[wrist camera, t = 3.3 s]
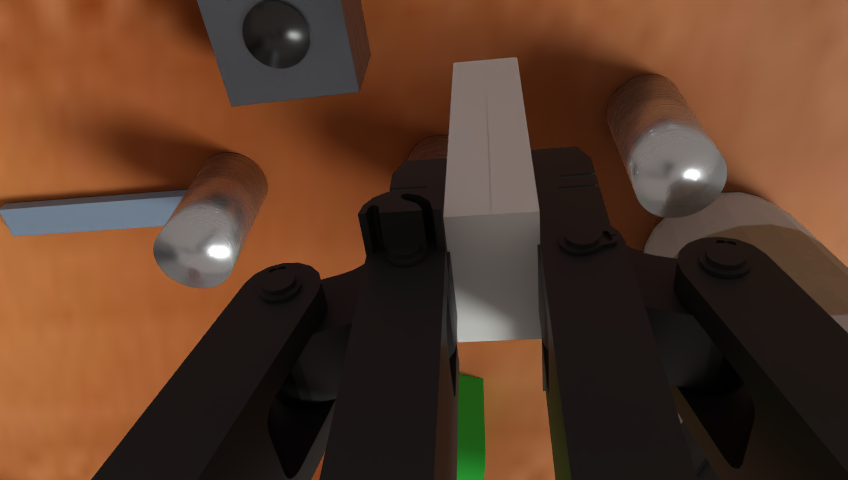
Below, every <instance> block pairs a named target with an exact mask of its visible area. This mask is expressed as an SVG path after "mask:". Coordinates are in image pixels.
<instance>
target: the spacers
mask: <svg viewBox="0 0 848 480" xmlns="http://www.w3.org/2000/svg"><path fill="white" fill-rule="evenodd" d="M606 118H607V123H608V126H609V128H610V131H611V133H612V136H613V138H614V141H615V144H616V146H617V149H618V151H619V154H620V156H621V159H622V161H623V164H624V166H625V169H626V171H627V174H628V176H629V179H630V181H631V184H632V187H633V189H634V192H635V194H636V197H637V199H638V201H639V203H640V204H641V205H642V206H643V207H644V208H645V209H646V210H647V211H649V212H650V213H652V214H654V215H657V216H660V217H665V218H680V217H685V216H689V215H692V214H695V213H697V212H699V211H701V210H703V209H704V208H706V207H707V206H709V205H710V204H711V203H712V202H713V201H714V200H715V199H716V198H717V197H718V196H719V194H720V193H721V191H722V190H723V188H724V186H725V183H726V179H727V166H726V162H725V160H724V158H723V156H722V155H721V153H720V152H719V150H718V149H717V147H716V146H715V144H714V143H713V141H712V140H711V138H710V137H709V135H708V133H707V132H706V130H705V129H704V127H703V126H702V124H701V123H700V121H699V120H698V118H697V117H696V115H695V114H694V112H693V111H692V109H691V107H690V106H689V104H688V103H687V101H686V100H685V98H684V97H683V95H682V94H681V92H680V91H679V89H678V88H677V86H676V85H675V84H674V83H673V82H672V81H670V80H669V79H667V78H665V77H662V76H658V75H644V76H639V77H636V78H633V79H631V80H629V81H627V82H626V83H624V84H623V85H622V86H620V87H619V88H618V89H617V90H616V91H615V93H614V94H613V95H612V97H611V99H610V101H609V103H608V106H607V112H606ZM448 138H449V136H444V135H438V136H432V137H429V138H426V139H424V140H422V141H421V142H419V143H418V144H417V145H416V146H415V147H414V148H413V149H412V151H411V153H410V155H409V157H408V161H414V160H428V159H441V158H447V153H448ZM267 189H268V185H267V180H266V177H265V175H264V173H263V171H262V170H261V169H260V167H259V166H258V165H257V164H256V163H255V162H253V161H252V160H250V159H249V158H247V157H245V156H242V155H239V154H235V153H221V154H217V155H215V156H213V157H211V158H209V159H208V160H207V161H206V163H205V164H204V165H203V167H202V168H201V170H200V172H199V173H198V175H197V176H196V178H195V179H194V181H193V182H192V184H191V185H190V187H189V189H188V190H187V192H186V193H185V195H184V196H183V198H182V199H181V201H180V203H179V204H178V206H177V207H176V209H175V210H174V212H173V213H172V215H171V216H170V218H169V220H168V221H167V223H166V224H165V226H164V227H163V229H162V230H161V232H160V234H159V235H158V237H157V238H156V240H155V243H154V248H153V249H154V257H155V259H156V262H157V264H158V265H159V267H160V268H161V269H162V270H163V272H164V273H165V274H167V275H168V276H169V277H170V278H172V279H173V280H175V281H177V282H179V283H181V284H183V285H186V286H189V287H194V288H210V287H214V286H217V285H219V284H221V283H223V282H224V281H225V280H226V279H227V278H228V277H229V275H230V273H231V271H232V269H233V267H234V265H235V262H236V260H237V258H238V256H239V254H240V251H241V249H242V247H243V245H244V243H245V240H246V238H247V236H248V234H249V232H250V230H251V227H252V225H253V223H254V221H255V219H256V216H257V214H258V212H259V210H260V208H261V205H262V203H263V201H264V199H265V197H266V194H267Z"/></svg>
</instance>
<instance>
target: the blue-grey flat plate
mask: <svg viewBox="0 0 848 480" xmlns="http://www.w3.org/2000/svg"><path fill="white" fill-rule="evenodd" d="M186 192H187V190H176V191H163V192H150V193H137V194H123V195H110V196H97V197H84V198H71V199H58V200H45V201H31V202H18V203H5V204H4V205H3V206H2V207H1V208H0V214H1V216H2V218H3V219H4V221H5V223H6V224H7V226H8V228H9V230H10V231H11V233H12V235H13V236H26V235H41V234H55V233H69V232H83V231H97V230H112V229H126V228H140V227H154V226H165V224H166V223H167V221H168V220H169V218H170V216H171V215H172V213H173V212H174V210H175V209H176V207H177V206H178V204H179V203H180V201H181V199H182V198H183V196H184V195H185V193H186Z"/></svg>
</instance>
